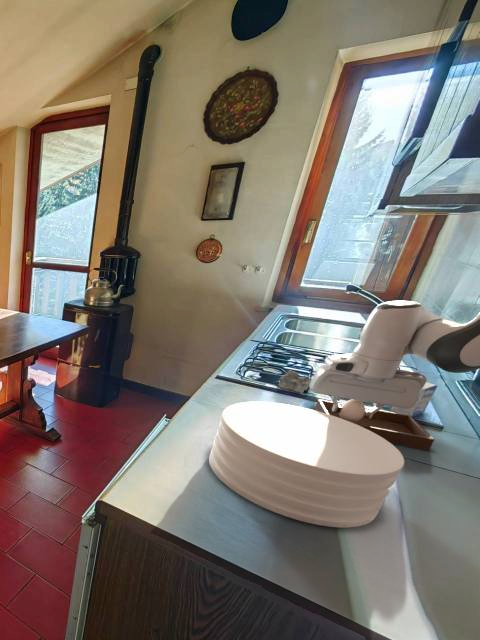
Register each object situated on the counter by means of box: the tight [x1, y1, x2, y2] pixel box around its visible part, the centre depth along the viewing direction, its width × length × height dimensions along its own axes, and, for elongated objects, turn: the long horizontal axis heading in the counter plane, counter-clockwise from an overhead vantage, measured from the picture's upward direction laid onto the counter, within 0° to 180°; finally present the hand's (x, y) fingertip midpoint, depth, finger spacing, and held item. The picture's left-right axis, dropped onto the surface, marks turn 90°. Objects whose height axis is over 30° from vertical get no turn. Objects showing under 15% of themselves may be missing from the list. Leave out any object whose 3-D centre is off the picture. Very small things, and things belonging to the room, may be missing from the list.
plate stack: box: [208, 401, 405, 529], centre depth 80 cm, size 28×28×12 cm
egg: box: [339, 399, 366, 423], centre depth 103 cm, size 5×5×7 cm
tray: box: [313, 398, 435, 451], centre depth 102 cm, size 19×14×3 cm
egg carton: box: [277, 369, 313, 393], centre depth 127 cm, size 11×8×4 cm
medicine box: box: [390, 381, 438, 418], centre depth 110 cm, size 8×4×9 cm, turn 114°
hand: (350, 414), depth 104 cm, fingers closed on egg, 5 cm apart
